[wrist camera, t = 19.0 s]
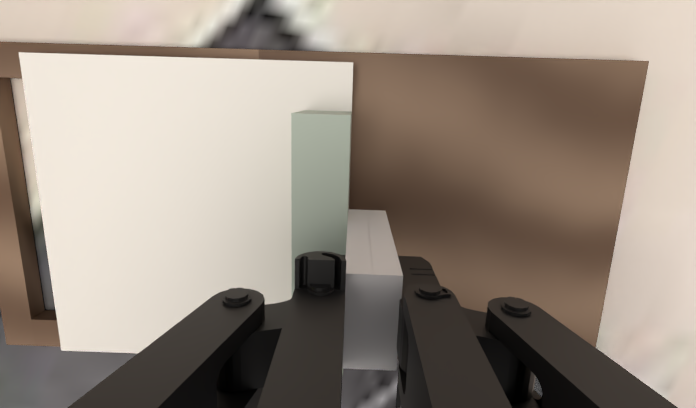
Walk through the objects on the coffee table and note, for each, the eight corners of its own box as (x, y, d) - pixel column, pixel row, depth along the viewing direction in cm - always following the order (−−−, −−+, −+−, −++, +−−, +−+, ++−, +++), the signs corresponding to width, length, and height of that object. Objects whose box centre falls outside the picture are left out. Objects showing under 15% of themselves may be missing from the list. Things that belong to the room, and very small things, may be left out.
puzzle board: (582, 354, 23) (591, 365, 22) (21, 334, 24) (6, 344, 23) (634, 63, 20) (648, 61, 19) (-28, 43, 20) (-47, 40, 19)
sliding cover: (344, 351, 22) (341, 419, 17) (71, 341, 22) (-4, 406, 17) (353, 63, 19) (352, 52, 14) (32, 54, 19) (-74, 39, 14)
